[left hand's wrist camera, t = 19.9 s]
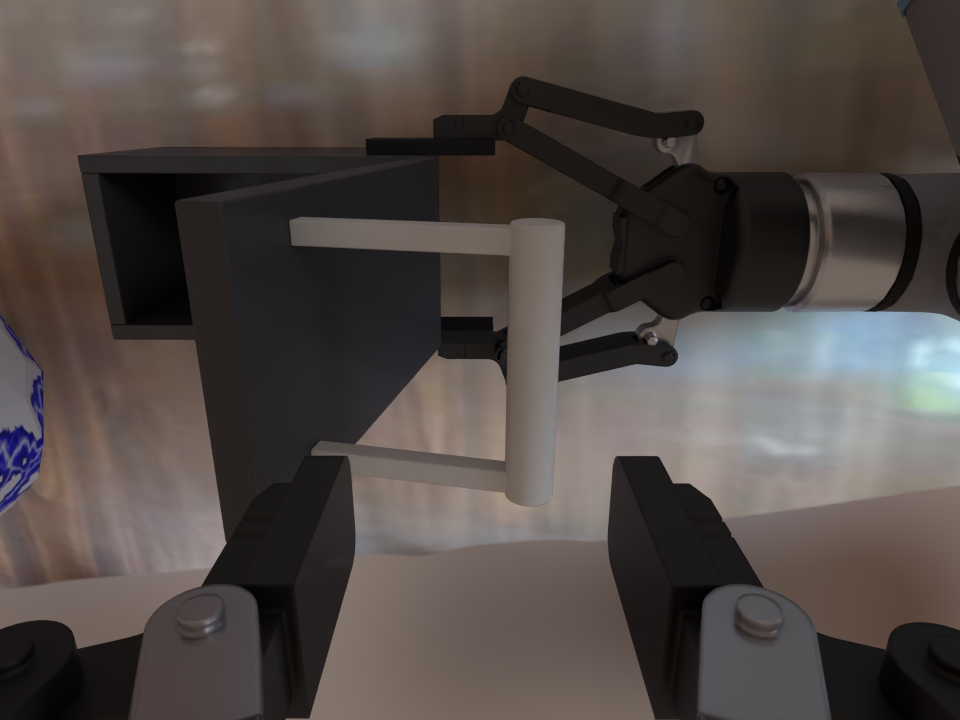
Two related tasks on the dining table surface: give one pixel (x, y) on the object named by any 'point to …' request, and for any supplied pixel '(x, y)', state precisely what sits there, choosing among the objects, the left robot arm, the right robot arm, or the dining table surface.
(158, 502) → the dining table surface
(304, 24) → the dining table surface
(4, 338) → the ornament
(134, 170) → the chest
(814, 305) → the right robot arm
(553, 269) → the lid
